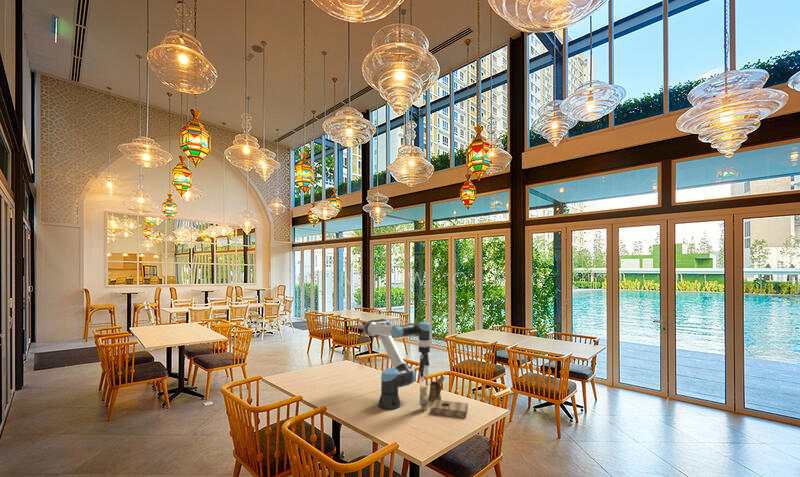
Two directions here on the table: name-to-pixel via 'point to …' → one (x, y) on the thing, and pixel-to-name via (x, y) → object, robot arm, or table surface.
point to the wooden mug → (435, 390)
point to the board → (449, 408)
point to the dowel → (423, 397)
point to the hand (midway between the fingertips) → (424, 378)
